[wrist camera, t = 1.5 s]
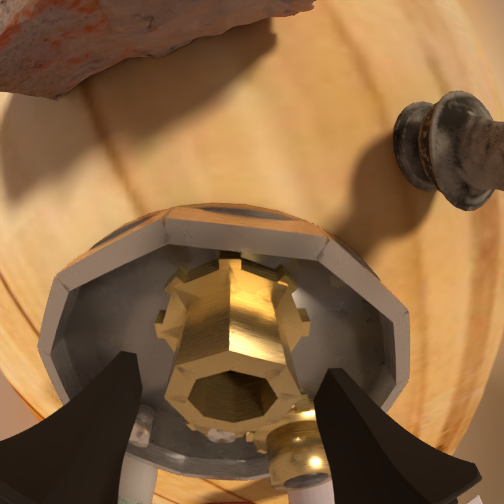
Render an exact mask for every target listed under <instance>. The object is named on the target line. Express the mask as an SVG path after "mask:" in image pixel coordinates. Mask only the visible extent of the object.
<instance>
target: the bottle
mask: <svg viewBox="0 0 504 504" xmlns="http://www.w3.org/2000/svg"><path fill="white" fill-rule="evenodd" d="M156 481H157V468H156V467H153V466H150V465H148V464H145V463H142V462H140V461H137V460H135V459H133V458H130V457H128V456H126V455H124V459H123V464H122V470H121V477H120V484H119V494H118V504H151V503H152V498H153V494H154V490H155V485H156Z"/></svg>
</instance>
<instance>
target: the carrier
mask: <svg viewBox="0 0 504 504" xmlns="http://www.w3.org/2000/svg"><path fill="white" fill-rule="evenodd" d="M220 250H227V251H236V252H241V257H242V258H245V259H248V260H250V261H253V262H256V263H259V264H261V265H264V266H267V267H269V268H272V269H276V268H277V267H278V266H279V265H280V264H281V265H282V266H283V267H284V268H285V269H286V270H288V271H289V272H290V273H291V274H292V275H293V277H294V279H295V281H296V283H297V286H298V289H297V290H296V291H295V292H293V293H292V297H293V299H294V302H295V304H296V307H297V308H305V309H306V311H307V314H308V316H309V319H310V321H311V322H310V329H309V335H308V336H304V337H301V338H300V339H299V341H298V343H297V344H296V346H295V347H294V349H293V350H292V352H291V356H292V360H293V364H294V368H295V371H296V375H297V379H298V383H299V387H300V391H301V395H302V396H301V397H300V399H299V400H298V401H297V402H296V403H295V404H294V406H293V407H292V408H291V409H290V410H289V411H288V412H287V414H286V415H285V416H284V417H283V418H282V419H281V420H280V421H279V422H278V423H275V424H271V425H268V426H264V427H260V428H256V429H251V430H247V431H242V432H238V433H232V432H226V431H221V430H216V429H211V428H207V427H202V426H198V425H194V424H190V423H189V422H188V421H187V420H186V419H185V418H184V417H183V416H182V415H181V414H180V413H179V412H178V411H177V410H176V409H175V408H174V407H173V406H172V405H171V404H170V403H169V402H168V401H167V400H166V399H165V398H164V395H165V391H166V387H167V382H168V378H169V374H170V370H171V365H172V361H173V357H174V353H175V352H174V351H173V350H172V348H171V347H170V345H169V344H168V343H167V341H166V340H165V338H158V337H157V333H156V329H155V324H154V323H155V321H156V318H157V316H158V313H159V311H160V310H167V307H168V304H169V301H170V298H171V295H170V294H169V293H167V292H166V291H165V290H164V288H165V286H166V284H167V282H168V280H169V278H170V277H171V275H172V274H173V273H174V272H175V271H176V270H177V269H178V268H179V267H180V266H181V265H182V266H183V267H184V268H185V269H186V270H190V269H192V268H195V267H197V266H200V265H202V264H205V263H207V262H210V261H212V260H215V259H217V258H219V254H220ZM37 347H38V351H39V354H40V356H41V358H42V361H43V363H44V366H45V368H46V370H47V372H48V375H49V377H50V379H51V381H52V383H53V385H54V387H55V389H56V391H57V393H58V395H59V397H60V399H61V401H62V403H63V405H65V404H66V403H68V402H69V401H70V400H71V399H72V398H73V397H74V396H76V395H77V394H78V393H79V392H80V391H81V390H82V389H84V388H85V387H86V386H87V385H88V384H89V383H90V382H91V381H92V380H93V379H94V378H95V377H96V376H97V375H98V374H99V373H100V372H101V371H102V370H103V369H104V368H105V367H106V366H107V365H108V364H109V363H110V362H111V361H112V359H113V358H114V357H115V356H116V355H117V354H118V353H119V352H120V351H126V352H131V353H136V354H137V359H138V365H139V371H140V376H141V382H142V387H143V390H142V395H141V400H140V405H139V410H138V414H137V417H136V420H135V423H134V426H133V429H132V432H131V436H130V439H129V442H128V445H127V448H126V452H125V455H126V456H128V457H130V458H133V459H135V460H137V461H140V462H142V463H145V464H148V465H150V466H153V467H156V468H158V469H161V470H164V471H167V472H170V473H173V474H176V475H182V476H186V477H194V478H204V479H217V480H241V481H248V480H255V479H261V478H267V477H270V481H271V487H272V488H274V489H276V490H282V491H295V490H303V489H308V488H312V487H316V486H319V485H322V484H325V483H327V482H329V481H331V480H332V478H331V472H330V468H329V464H328V460H327V457H326V453H325V450H324V447H323V443H322V440H321V436H320V433H319V429H318V426H317V422H316V416H315V409H314V402H313V400H314V398H315V396H316V394H317V392H318V389H319V387H320V385H321V383H322V381H323V379H324V376H325V374H326V372H327V370H328V368H343V369H344V370H345V371H346V372H347V374H348V375H349V376H350V377H351V378H352V379H353V380H354V381H355V382H356V383H357V384H358V385H359V386H360V388H361V389H362V390H363V391H364V392H365V393H366V394H367V395H368V396H369V397H370V398H371V399H372V400H373V401H374V402H375V403H376V404H377V405H378V406H379V407H380V408H381V409H382V410H383V411H384V412H385V413H387V412H388V410H389V409H390V407H391V406H392V405H393V403H394V402H395V400H396V399H397V398H398V396H399V395H400V393H401V392H402V390H403V389H404V387H405V386H406V384H407V383H408V379H409V374H410V320H409V312H408V309H407V308H406V307H405V306H404V305H403V304H402V303H401V302H400V300H399V299H398V298H397V297H396V296H395V295H394V294H393V293H392V292H391V291H390V290H389V289H388V288H387V287H386V286H385V285H384V284H383V283H382V282H381V281H380V279H379V278H378V276H377V275H376V274H375V273H374V272H373V271H372V269H371V268H370V267H369V266H368V265H367V264H366V263H365V262H364V261H363V260H362V259H361V258H360V257H359V256H358V255H357V254H356V253H355V252H354V251H353V250H352V249H351V248H349V247H348V246H347V245H345V244H344V243H343V242H341V241H340V240H339V239H337V238H336V237H335V236H333V235H332V234H330V233H328V232H327V231H325V230H323V229H321V228H320V227H319V226H318V225H317V226H315V225H314V224H313V223H310V222H308V221H305V220H303V219H300V218H297V217H294V216H291V215H289V214H286V213H283V212H280V211H277V210H272V209H267V208H262V207H256V206H251V205H246V204H229V203H203V204H193V205H183V206H177V207H173V208H169V209H165V210H161V211H157V212H153V213H150V214H147V215H145V216H143V217H140V218H138V219H136V220H133V221H131V222H129V223H126V224H124V225H123V226H121V227H120V228H118V229H116V230H115V231H113V232H112V233H110V234H109V235H107V236H106V237H104V238H103V239H102V240H100V241H99V242H98V243H96V244H95V245H94V246H93V247H92V248H91V249H90V250H89V251H87V252H85V253H84V254H82V255H80V256H79V257H77V258H75V259H74V260H73V261H72V262H70V263H69V264H68V265H67V266H66V267H64V268H63V269H62V270H61V271H60V272H59V273H57V275H56V276H55V277H54V280H53V284H52V287H51V290H50V294H49V298H48V301H47V305H46V309H45V313H44V317H43V322H42V326H41V331H40V336H39V341H38V346H37Z"/></svg>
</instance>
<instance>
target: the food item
mask: <svg viewBox="0 0 504 504" xmlns="http://www.w3.org/2000/svg"><path fill="white" fill-rule="evenodd" d="M314 1H316V0H0V92H9V93H21V94H25V95H29V96H36V97H39V96H42V97H46V98H49V99H52V100H56V101H57V100H58V99H60V98H61V97H63V96H64V95H65V94H66V93H68V92H69V91H70V90H72V89H73V88H74V87H76V86H77V85H78V84H79V83H81V82H82V81H83V80H85V79H86V78H87V77H89V76H90V75H92V74H95V73H98V72H101V71H103V70H105V69H107V68H109V67H111V66H113V65H115V64H117V63H119V62H121V61H122V60H124V59H126V58H132V57H150V58H155V57H163V56H165V55H168V54H170V53H172V52H173V50H176V49H178V48H180V47H183V46H185V45H188V44H190V43H191V42H192V41H193V40H194V38H198V37H203V36H212V35H221V34H222V33H224V32H226V31H227V30H229V29H230V28H232V27H235V26H240V25H246V24H251V23H254V22H256V21H259V20H262V19H265V18H268V17H287V16H291V15H293V16H294V15H295V14H297V13H299V12H305V11H309V10H312V9H313V8H314V5H313V4H312V3H313V2H314Z"/></svg>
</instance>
